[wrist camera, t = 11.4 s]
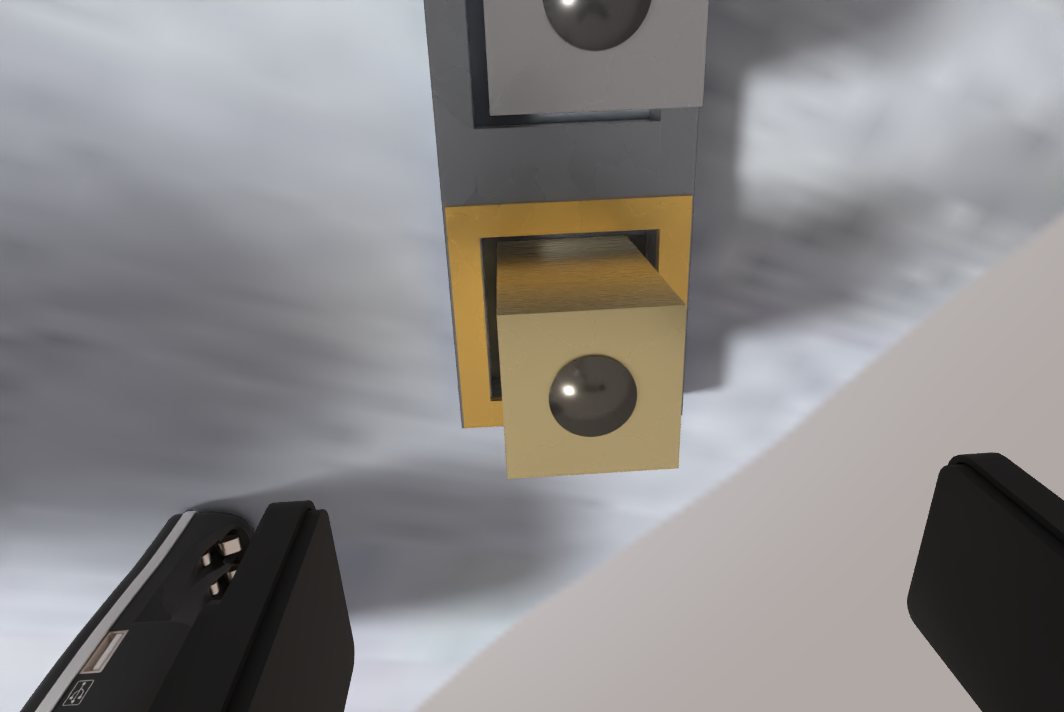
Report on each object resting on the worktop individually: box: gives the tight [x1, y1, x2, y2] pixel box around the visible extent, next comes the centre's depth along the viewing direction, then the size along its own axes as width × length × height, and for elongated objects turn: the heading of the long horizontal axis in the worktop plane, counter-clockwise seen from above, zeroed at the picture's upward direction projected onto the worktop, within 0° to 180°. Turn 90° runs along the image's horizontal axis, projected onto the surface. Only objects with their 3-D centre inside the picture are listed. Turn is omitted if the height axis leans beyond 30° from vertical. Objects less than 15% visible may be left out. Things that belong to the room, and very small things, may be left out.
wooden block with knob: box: [497, 235, 686, 479], centre depth 20 cm, size 4×4×8 cm
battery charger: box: [20, 511, 254, 712], centre depth 22 cm, size 7×4×11 cm, turn 3°
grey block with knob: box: [483, 0, 709, 116], centre depth 17 cm, size 4×4×8 cm
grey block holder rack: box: [424, 0, 699, 428], centre depth 19 cm, size 26×8×2 cm, turn 2°
